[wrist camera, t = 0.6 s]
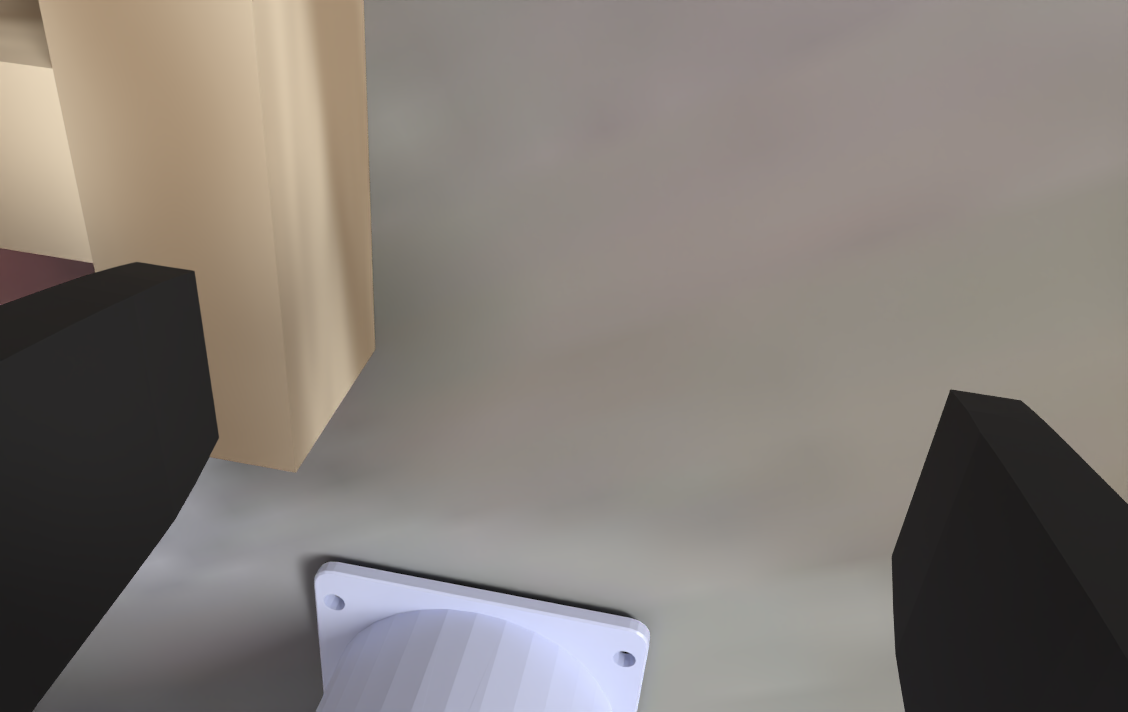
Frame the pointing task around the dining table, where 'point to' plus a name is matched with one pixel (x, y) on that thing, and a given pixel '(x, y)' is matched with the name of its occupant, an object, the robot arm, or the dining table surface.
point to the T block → (207, 183)
